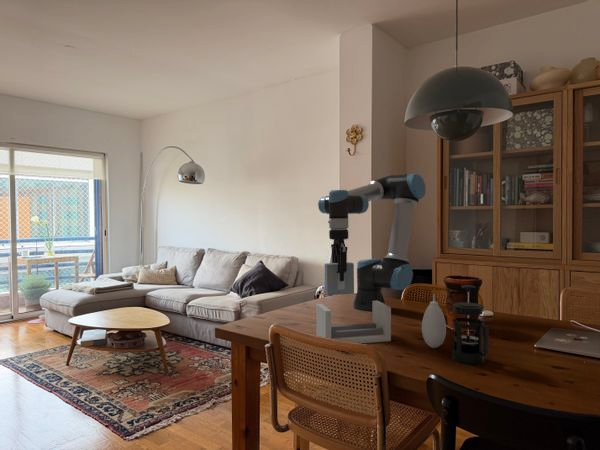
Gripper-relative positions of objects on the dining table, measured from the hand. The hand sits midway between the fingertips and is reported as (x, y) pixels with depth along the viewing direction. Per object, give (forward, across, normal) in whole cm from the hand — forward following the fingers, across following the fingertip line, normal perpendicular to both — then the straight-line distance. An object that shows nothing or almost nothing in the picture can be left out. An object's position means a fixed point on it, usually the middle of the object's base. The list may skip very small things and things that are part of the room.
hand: (339, 288), depth 171 cm
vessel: (+16, +12, +47) cm, 51 cm away
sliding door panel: (+2, 0, 0) cm, 2 cm away
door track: (+15, +16, 0) cm, 22 cm away
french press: (+16, +46, +27) cm, 56 cm away
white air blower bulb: (+16, +32, +23) cm, 42 cm away
